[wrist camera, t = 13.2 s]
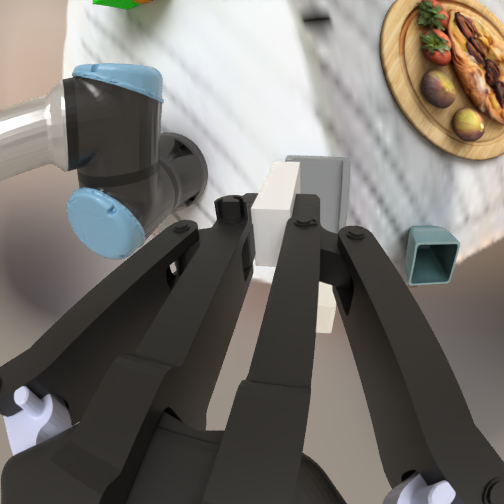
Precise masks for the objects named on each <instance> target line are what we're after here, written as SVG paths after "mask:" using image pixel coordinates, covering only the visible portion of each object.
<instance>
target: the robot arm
mask: <svg viewBox="0 0 504 504" xmlns="http://www.w3.org/2000/svg"><path fill="white" fill-rule="evenodd" d="M72 76H73V78H68V79H63V80H59V81H58V82H57V84H56V85H55V86H54V87H53V88H52V89H51V91H50V92H49V93H48V94H46V95H45V96H41V97H37V98H34V99H30V100H27V101H23V102H20V103H17V104H14V105H11V106H8V107H5V108H2V109H0V181H2V180H5V179H7V178H10V177H13V176H15V175H18V174H21V173H24V172H26V171H29V170H32V169H35V168H38V167H41V166H44V165H48V164H54V165H55V166H57V167H58V168H60V169H61V170H63V171H64V172H66V171H71V170H74V169H77V172H78V180H79V189H77V190H75V191H74V192H73V194H72V195H71V197H70V199H69V201H68V203H67V215H68V219H69V222H70V225H71V227H72V229H73V231H74V232H75V234H76V235H77V237H78V238H79V239H80V240H81V241H82V242H83V243H84V244H85V245H86V246H87V247H88V248H89V249H91V250H92V251H93V252H95V253H96V254H98V255H100V256H102V257H105V258H108V259H115V260H116V259H123V258H126V257H128V256H129V255H131V254H132V253H133V252H134V251H135V250H136V249H137V248H138V247H140V246H142V245H143V243H144V241H145V240H146V239H147V238H148V237H149V236H150V235H151V233H152V232H153V231H154V230H155V229H156V228H157V227H158V226H159V225H160V223H161V222H162V221H163V220H164V219H165V218H166V217H167V216H168V215H169V214H170V213H172V212H175V211H178V210H181V209H184V208H186V207H188V206H190V205H191V204H192V203H194V202H195V201H196V200H197V199H198V197H199V196H200V195H201V194H202V192H203V191H204V189H205V186H206V183H207V176H208V172H207V165H206V161H205V159H204V156H203V154H202V153H201V151H200V149H199V148H198V147H197V146H196V145H195V144H194V143H193V142H192V141H191V140H190V139H188V138H186V137H185V136H183V135H180V134H177V133H161V134H160V131H161V113H162V103H163V102H164V100H163V99H162V83H163V78H162V75H161V73H160V72H159V71H158V70H157V69H155V68H153V67H149V66H142V65H133V64H114V63H106V64H85V65H79V66H77V67H76V68H75V69H74V71H73V73H72ZM214 203H215V210H216V216H217V221H216V222H215V224H214V225H213V227H212V228H207V229H200V230H198V226H197V223H196V222H194V221H191V220H183V221H182V220H181V221H178V222H176V223H174V224H172V225H170V226H169V227H168V228H166V229H165V230H164V231H162V232H161V233H160V234H158V235H157V236H156V237H155V238H153V239H152V240H151V241H149V242H148V243H147V244H146V245H144V246H143V247H142V248H141V249H139V250H138V251H137V252H136V253H134V254H133V255H132V256H131V257H130V258H128V259H127V260H126V261H125V262H124V263H122V264H121V265H120V266H119V267H117V268H116V269H115V270H114V271H113V272H111V273H110V274H109V275H108V276H107V277H106V278H105V279H103V280H102V281H101V282H100V283H99V284H98V285H96V286H95V287H94V288H93V289H92V290H91V291H89V292H88V293H87V294H86V295H85V296H84V297H83V298H82V299H81V300H79V301H78V302H77V303H76V304H75V305H74V306H73V307H72V308H71V309H70V310H69V311H68V312H66V313H65V314H64V315H63V316H62V317H61V318H60V319H59V320H58V321H57V322H56V323H55V324H54V325H53V326H52V327H51V328H50V329H49V330H48V331H47V332H45V333H44V334H43V335H42V336H41V338H39V339H38V340H37V341H36V342H35V343H34V344H33V345H32V347H31V348H30V349H28V350H26V351H25V352H23V353H22V354H20V355H19V356H17V357H15V358H14V359H12V360H11V361H9V362H7V363H6V364H4V365H3V366H1V367H0V414H2V415H3V417H4V420H5V425H6V430H7V434H8V438H9V442H10V446H11V449H12V453H13V456H12V457H11V458H10V459H9V460H8V461H7V462H6V464H5V466H4V468H3V471H2V475H1V493H2V494H1V496H2V497H1V501H2V502H1V504H347V503H346V502H345V500H344V499H343V497H342V496H341V495H340V493H339V492H338V490H337V489H336V487H335V486H334V484H333V483H332V482H331V480H330V479H329V477H328V476H327V474H326V473H325V472H324V470H323V469H322V468H321V467H320V466H319V465H318V464H317V463H316V462H315V461H314V460H312V459H311V458H310V457H309V456H307V455H305V454H304V453H302V451H303V445H304V437H305V432H306V425H307V418H308V411H309V404H310V395H311V378H312V369H313V359H314V349H315V337H316V325H317V310H318V294H319V282H323V283H326V284H329V285H332V291H333V294H334V297H335V300H336V303H337V306H338V309H339V312H340V315H341V318H342V321H343V323H344V327H345V330H346V333H347V336H348V339H349V342H350V346H351V349H352V352H353V355H354V358H355V362H356V365H357V369H358V372H359V376H360V379H361V382H362V386H363V390H364V393H365V397H366V401H367V405H368V408H369V412H370V416H371V420H372V424H373V428H374V432H375V436H376V440H377V445H378V449H379V454H380V458H381V462H382V465H383V469H384V472H385V474H386V477H387V479H388V481H389V483H390V486H391V488H392V490H391V491H390V492H389V493H388V495H387V496H386V497H385V499H384V501H383V504H504V462H503V461H502V460H501V458H500V457H499V455H498V454H497V453H496V451H495V450H494V449H493V447H492V446H491V445H490V443H489V442H488V441H487V440H486V438H485V437H484V436H483V435H482V433H481V432H480V431H479V429H478V428H477V427H476V426H475V424H474V422H473V419H472V417H471V414H470V411H469V409H468V406H467V404H466V402H465V399H464V396H463V394H462V391H461V389H460V387H459V385H458V382H457V380H456V378H455V376H454V373H453V371H452V369H451V367H450V365H449V363H448V361H447V358H446V356H445V354H444V352H443V350H442V348H441V346H440V344H439V342H438V340H437V338H436V337H435V335H434V333H433V331H432V329H431V327H430V325H429V324H428V322H427V320H426V318H425V316H424V314H423V313H422V311H421V309H420V307H419V306H418V304H417V302H416V301H415V299H414V297H413V296H412V294H411V292H410V291H409V289H408V287H407V286H406V284H405V282H404V281H403V279H402V278H401V276H400V274H399V273H398V271H397V270H396V268H395V267H394V265H393V264H392V262H391V261H390V259H389V258H388V256H387V255H386V253H385V252H384V250H383V249H382V247H381V246H380V244H379V243H378V241H377V240H376V238H375V237H374V236H373V234H372V233H371V232H370V231H369V230H367V229H365V228H363V227H360V226H346V227H343V228H341V229H340V230H339V232H338V234H336V233H333V232H330V231H328V230H326V229H324V228H323V227H322V226H321V223H320V198H319V197H318V196H317V195H316V194H300V162H274V164H273V166H272V168H271V170H270V172H269V174H268V176H267V178H266V180H265V182H264V184H263V186H262V188H261V189H260V191H259V193H246V194H245V195H243V196H240V195H228V196H224V197H221V198H219V199H217V200H216V201H214ZM254 257H255V262H256V266H269V267H276V269H275V273H274V277H273V281H272V286H271V290H270V294H269V297H268V302H267V305H266V309H265V313H264V317H263V321H262V325H261V329H260V333H259V336H258V340H257V344H256V348H255V351H254V355H253V359H252V362H251V366H250V370H249V374H248V376H247V378H246V380H243V381H242V382H241V383H240V385H239V387H238V390H237V392H236V396H235V399H234V402H233V406H232V409H231V412H230V415H229V419H228V422H227V425H226V428H225V431H205V429H206V412H207V408H208V405H209V402H210V399H211V396H212V393H213V390H214V387H215V384H216V382H217V379H218V376H219V373H220V370H221V367H222V364H223V361H224V358H225V355H226V352H227V349H228V346H229V343H230V340H231V337H232V335H233V332H234V329H235V326H236V322H237V320H238V317H239V314H240V311H241V308H242V305H243V302H244V299H245V296H246V293H247V290H248V287H249V284H250V281H251V278H252V275H253V260H254ZM173 262H175V266H176V269H177V270H176V271H175V272H174V273H172V272H171V269H170V264H172V263H173ZM79 421H80V422H79ZM78 422H79V423H78ZM76 423H78V424H76ZM75 424H76V425H75ZM73 425H74V426H73Z"/></svg>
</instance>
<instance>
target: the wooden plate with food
mask: <svg viewBox="0 0 504 504" xmlns="http://www.w3.org/2000/svg"><path fill="white" fill-rule="evenodd" d="M380 54H381V62H382V67H383V71H384V74H385V78H386V81H387V83H388V86H389V88H390V91H391V93H392V95H393V97H394V99H395V101H396V103H397V104H398V106H399V108H400V109H401V111H402V112H403V114H404V115H405V116H406V118H407V119H408V120H409V122H410V123H411V124H412V125H413V126H414V127H415V128H416V129H417V131H418V132H419V133H421V134H422V135H423V136H424V137H425V138H426V139H427V140H429V141H430V142H431V143H433V144H434V145H435V146H437V147H438V148H440V149H441V150H443V151H445V152H447V153H449V154H452V155H454V156H457V157H460V158H464V159H469V160H486V159H490V158H494V157H496V156H499V155H501V154H503V153H504V25H503V24H502V22H501V21H500V20H499V19H498V18H497V17H496V16H495V15H494V14H493V13H492V12H491V11H490V10H489V9H487V8H486V7H485V6H484V5H482V4H481V3H479V2H478V1H476V0H396V1H395V2H394V3H393V4H392V5H391V7H390V8H389V10H388V12H387V14H386V16H385V19H384V22H383V25H382V30H381V35H380Z"/></svg>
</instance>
